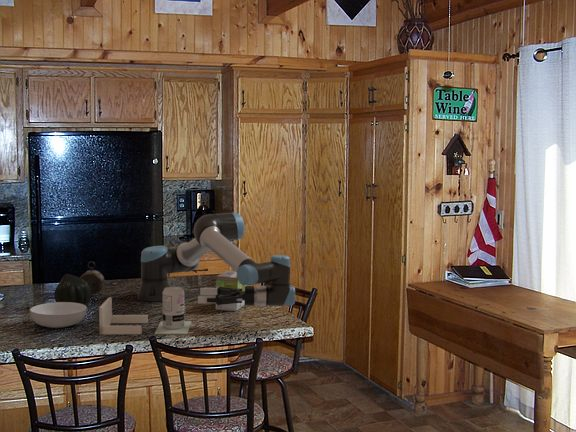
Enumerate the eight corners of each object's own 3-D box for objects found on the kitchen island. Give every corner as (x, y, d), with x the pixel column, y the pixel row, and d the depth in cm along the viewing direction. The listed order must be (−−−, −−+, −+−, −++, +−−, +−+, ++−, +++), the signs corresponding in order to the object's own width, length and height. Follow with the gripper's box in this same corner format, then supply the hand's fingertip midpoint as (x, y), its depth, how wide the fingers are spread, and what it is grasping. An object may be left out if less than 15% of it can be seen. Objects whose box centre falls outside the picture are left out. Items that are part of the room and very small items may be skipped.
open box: (147, 322, 280) (147, 297, 279) (141, 334, 262) (141, 307, 261) (108, 322, 279) (108, 297, 278) (99, 334, 262) (99, 307, 261)
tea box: (237, 311, 300) (237, 277, 298) (215, 310, 302) (215, 275, 300) (246, 303, 314) (247, 270, 313) (225, 302, 316) (225, 269, 315)
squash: (100, 295, 303) (86, 266, 308) (69, 302, 292) (55, 272, 297) (88, 312, 311) (74, 284, 316) (57, 319, 300) (43, 290, 305)
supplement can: (163, 324, 275) (163, 286, 274) (185, 324, 276) (185, 286, 274) (161, 329, 267) (161, 290, 266) (183, 329, 268) (183, 290, 266)
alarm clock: (105, 295, 327) (104, 260, 325) (101, 298, 322) (100, 262, 320) (82, 294, 328) (81, 260, 326) (77, 297, 323) (77, 262, 321)
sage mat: (154, 334, 262) (154, 333, 262) (160, 322, 280) (160, 321, 280) (187, 334, 263) (187, 333, 263) (191, 322, 281) (191, 321, 281)
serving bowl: (55, 335, 260) (55, 317, 259) (18, 326, 271) (18, 309, 270) (98, 323, 277) (98, 306, 277) (62, 316, 288) (61, 299, 288)
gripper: (254, 313, 260) (196, 313, 259) (254, 297, 285) (201, 297, 284) (255, 293, 259) (196, 293, 258) (254, 279, 284) (201, 279, 283)
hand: (199, 295), depth 271 cm, fingers open, 13 cm apart
